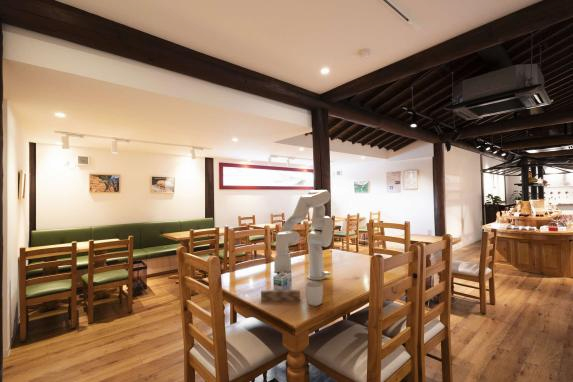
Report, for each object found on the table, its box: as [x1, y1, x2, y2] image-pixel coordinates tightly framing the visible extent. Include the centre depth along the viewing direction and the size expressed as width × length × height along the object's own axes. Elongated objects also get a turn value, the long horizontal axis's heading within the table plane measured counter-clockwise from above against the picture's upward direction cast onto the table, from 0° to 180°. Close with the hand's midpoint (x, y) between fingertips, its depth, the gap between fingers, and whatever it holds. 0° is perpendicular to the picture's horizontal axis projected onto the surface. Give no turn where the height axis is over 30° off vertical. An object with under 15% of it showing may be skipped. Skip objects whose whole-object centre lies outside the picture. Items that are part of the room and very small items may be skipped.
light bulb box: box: [272, 272, 293, 290], centre depth 157 cm, size 11×7×11 cm, turn 150°
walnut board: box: [260, 289, 301, 302], centre depth 146 cm, size 21×2×5 cm, turn 86°
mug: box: [305, 281, 324, 307], centre depth 143 cm, size 13×9×10 cm
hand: (283, 282), depth 164 cm, fingers closed
